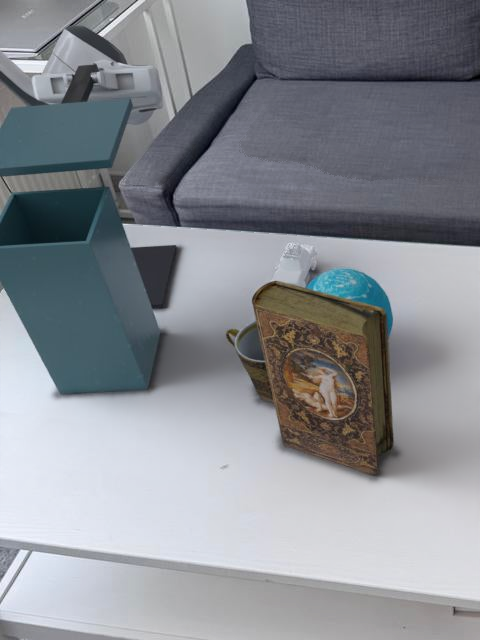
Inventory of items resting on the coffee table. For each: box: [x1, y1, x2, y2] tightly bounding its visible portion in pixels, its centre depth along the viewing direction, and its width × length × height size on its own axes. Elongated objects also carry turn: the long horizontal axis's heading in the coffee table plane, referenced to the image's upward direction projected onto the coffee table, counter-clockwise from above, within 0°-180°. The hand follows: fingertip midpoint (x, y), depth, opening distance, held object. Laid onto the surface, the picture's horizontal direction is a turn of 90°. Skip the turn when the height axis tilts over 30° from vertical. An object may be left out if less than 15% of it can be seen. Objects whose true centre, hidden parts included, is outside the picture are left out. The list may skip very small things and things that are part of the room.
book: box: [251, 280, 395, 476], centre depth 99 cm, size 16×6×25 cm, turn 65°
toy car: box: [270, 241, 318, 288], centre depth 131 cm, size 6×12×7 cm, turn 167°
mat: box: [131, 244, 178, 309], centre depth 136 cm, size 18×13×1 cm
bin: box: [0, 186, 161, 395], centre depth 112 cm, size 14×14×26 cm
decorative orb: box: [305, 267, 394, 341], centre depth 115 cm, size 15×15×15 cm
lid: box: [0, 64, 133, 178], centre depth 110 cm, size 31×18×1 cm, turn 3°
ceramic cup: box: [225, 320, 274, 405], centre depth 113 cm, size 13×10×10 cm
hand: (82, 79), depth 116 cm, fingers closed on lid, 3 cm apart
